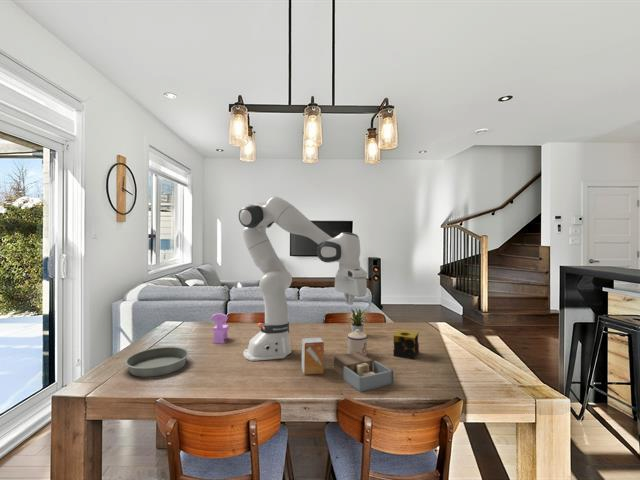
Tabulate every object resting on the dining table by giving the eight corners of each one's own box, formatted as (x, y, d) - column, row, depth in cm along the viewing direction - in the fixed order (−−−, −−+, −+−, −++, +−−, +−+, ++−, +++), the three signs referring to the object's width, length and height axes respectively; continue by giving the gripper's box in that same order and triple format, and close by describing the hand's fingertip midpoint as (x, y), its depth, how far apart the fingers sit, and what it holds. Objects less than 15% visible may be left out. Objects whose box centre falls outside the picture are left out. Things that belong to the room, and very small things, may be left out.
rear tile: (355, 376, 134) (359, 378, 132) (355, 364, 134) (359, 366, 132) (365, 374, 136) (369, 376, 134) (365, 362, 136) (369, 365, 134)
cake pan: (128, 360, 151) (128, 350, 151) (187, 353, 161) (187, 344, 161) (120, 383, 129) (120, 371, 129) (190, 373, 138) (190, 362, 138)
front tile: (362, 373, 130) (362, 380, 130) (369, 378, 126) (369, 384, 126) (371, 371, 132) (371, 378, 132) (378, 375, 128) (378, 382, 128)
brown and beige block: (346, 378, 133) (346, 364, 133) (334, 369, 142) (334, 356, 142) (372, 373, 138) (372, 360, 138) (358, 364, 148) (358, 351, 147)
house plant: (376, 334, 191) (376, 305, 191) (366, 341, 179) (366, 310, 179) (353, 330, 199) (354, 302, 198) (342, 336, 187) (342, 307, 187)
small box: (304, 375, 136) (304, 342, 136) (301, 369, 142) (301, 338, 142) (323, 373, 138) (324, 341, 138) (320, 367, 144) (320, 336, 144)
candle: (419, 352, 163) (419, 332, 163) (415, 360, 154) (415, 337, 153) (397, 349, 167) (397, 329, 167) (392, 356, 158) (393, 335, 158)
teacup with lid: (366, 358, 155) (366, 333, 155) (346, 357, 156) (346, 332, 156) (367, 349, 167) (367, 326, 166) (348, 348, 168) (349, 325, 168)
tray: (359, 392, 122) (359, 378, 122) (343, 379, 132) (343, 366, 132) (393, 384, 128) (393, 371, 128) (375, 372, 139) (375, 360, 139)
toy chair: (230, 338, 184) (230, 310, 184) (226, 343, 175) (226, 314, 175) (214, 338, 184) (214, 310, 184) (210, 343, 175) (210, 314, 175)
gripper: (331, 269, 150) (331, 300, 151) (355, 274, 132) (355, 309, 132) (343, 268, 153) (343, 299, 153) (369, 273, 135) (369, 308, 135)
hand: (349, 304), depth 143 cm, fingers closed
